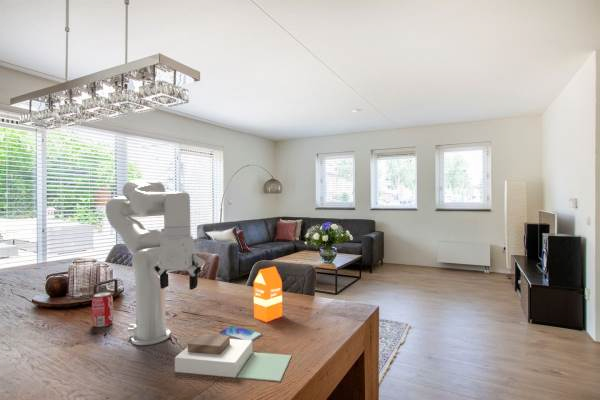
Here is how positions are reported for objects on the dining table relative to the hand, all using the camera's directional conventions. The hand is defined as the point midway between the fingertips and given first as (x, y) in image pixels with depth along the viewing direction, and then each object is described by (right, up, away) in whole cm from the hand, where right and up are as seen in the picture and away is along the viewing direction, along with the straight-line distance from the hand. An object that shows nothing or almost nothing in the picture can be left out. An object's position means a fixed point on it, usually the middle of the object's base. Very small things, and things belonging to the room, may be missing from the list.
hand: (178, 288), depth 99 cm
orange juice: (+24, -21, +33) cm, 46 cm away
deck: (+12, -21, -3) cm, 25 cm away
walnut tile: (+10, -17, -3) cm, 20 cm away
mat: (+27, -21, -6) cm, 35 cm away
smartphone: (+16, -22, +17) cm, 32 cm away
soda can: (-40, -22, +28) cm, 53 cm away
